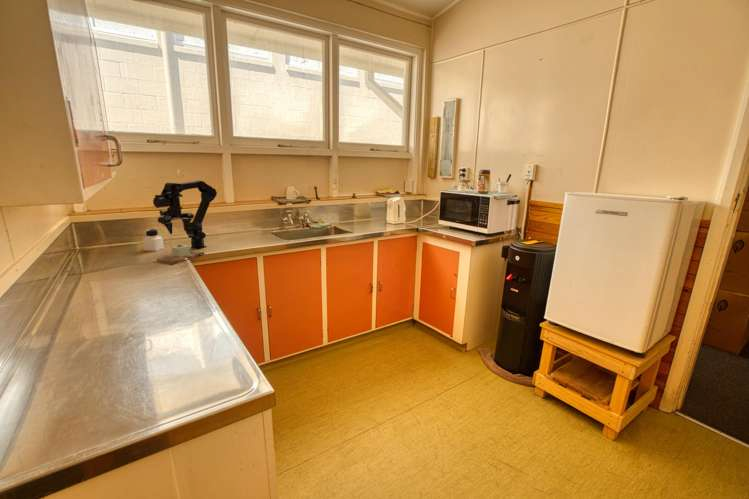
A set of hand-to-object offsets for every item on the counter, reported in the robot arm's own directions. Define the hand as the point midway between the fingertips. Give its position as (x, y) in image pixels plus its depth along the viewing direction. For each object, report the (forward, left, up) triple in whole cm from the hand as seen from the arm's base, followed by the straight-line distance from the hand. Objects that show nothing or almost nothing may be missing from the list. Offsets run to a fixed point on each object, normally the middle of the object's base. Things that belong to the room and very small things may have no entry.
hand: (178, 232), depth 199 cm
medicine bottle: (+2, -20, -12) cm, 24 cm away
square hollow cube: (+7, +9, -10) cm, 15 cm away
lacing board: (+7, +9, -12) cm, 17 cm away
